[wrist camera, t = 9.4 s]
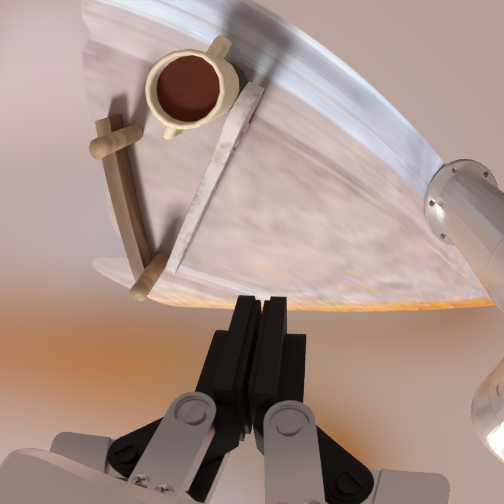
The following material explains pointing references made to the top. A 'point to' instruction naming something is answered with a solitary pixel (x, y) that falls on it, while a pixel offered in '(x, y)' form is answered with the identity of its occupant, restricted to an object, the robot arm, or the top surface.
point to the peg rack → (127, 201)
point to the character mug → (193, 87)
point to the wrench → (216, 168)
